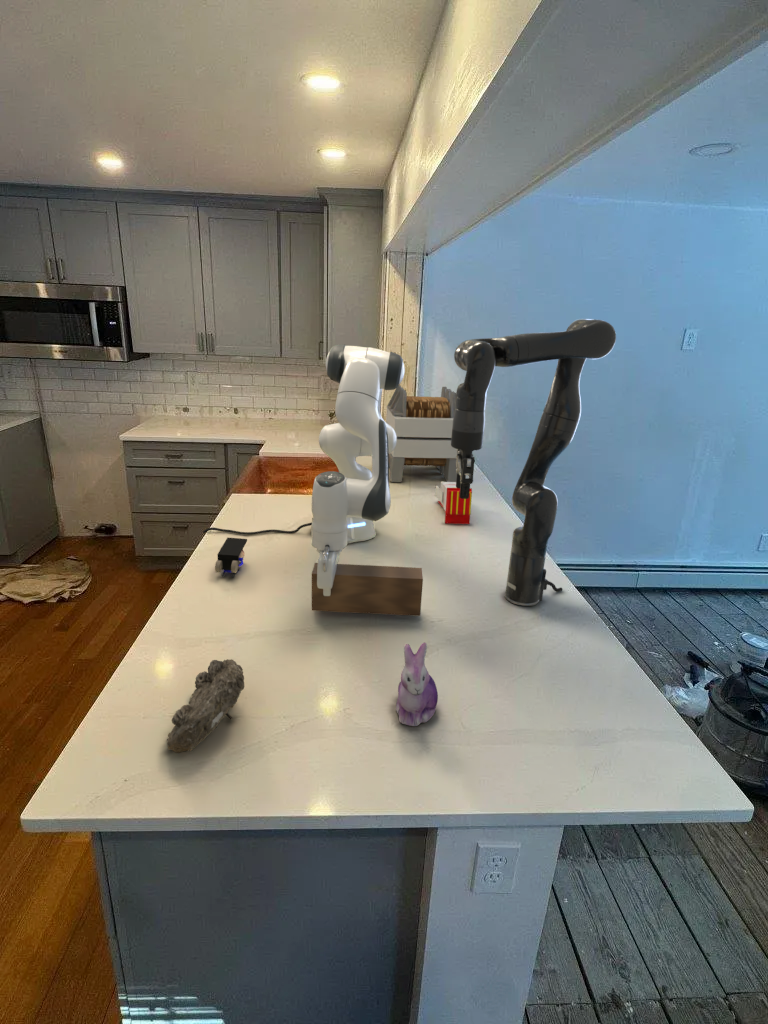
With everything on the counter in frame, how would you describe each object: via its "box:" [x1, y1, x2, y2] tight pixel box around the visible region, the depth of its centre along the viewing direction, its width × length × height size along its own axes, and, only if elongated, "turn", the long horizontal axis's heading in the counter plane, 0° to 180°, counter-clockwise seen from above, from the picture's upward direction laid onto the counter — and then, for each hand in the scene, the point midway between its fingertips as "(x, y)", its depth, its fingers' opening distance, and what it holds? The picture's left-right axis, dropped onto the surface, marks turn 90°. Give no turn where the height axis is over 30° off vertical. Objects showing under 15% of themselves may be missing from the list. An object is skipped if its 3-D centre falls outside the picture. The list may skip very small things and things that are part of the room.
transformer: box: [385, 384, 458, 483], centre depth 268 cm, size 34×33×41 cm
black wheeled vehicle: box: [214, 537, 248, 578], centre depth 166 cm, size 7×8×15 cm
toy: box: [434, 481, 473, 525], centre depth 222 cm, size 12×13×30 cm
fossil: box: [166, 658, 245, 754], centre depth 106 cm, size 22×10×15 cm
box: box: [311, 562, 424, 617], centre depth 145 cm, size 28×6×10 cm, turn 89°
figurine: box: [395, 642, 439, 727], centre depth 109 cm, size 9×10×15 cm
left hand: (328, 587), depth 145 cm, fingers closed on box, 6 cm apart
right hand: (462, 492), depth 140 cm, fingers open, 8 cm apart
